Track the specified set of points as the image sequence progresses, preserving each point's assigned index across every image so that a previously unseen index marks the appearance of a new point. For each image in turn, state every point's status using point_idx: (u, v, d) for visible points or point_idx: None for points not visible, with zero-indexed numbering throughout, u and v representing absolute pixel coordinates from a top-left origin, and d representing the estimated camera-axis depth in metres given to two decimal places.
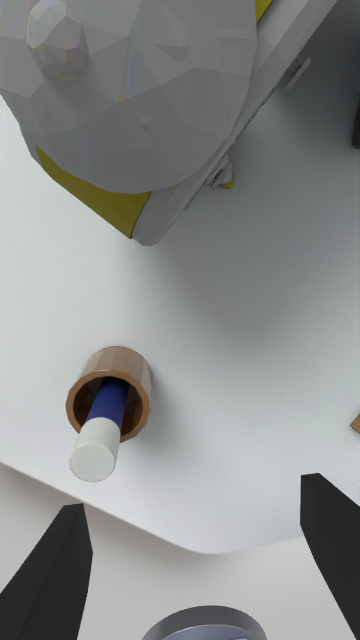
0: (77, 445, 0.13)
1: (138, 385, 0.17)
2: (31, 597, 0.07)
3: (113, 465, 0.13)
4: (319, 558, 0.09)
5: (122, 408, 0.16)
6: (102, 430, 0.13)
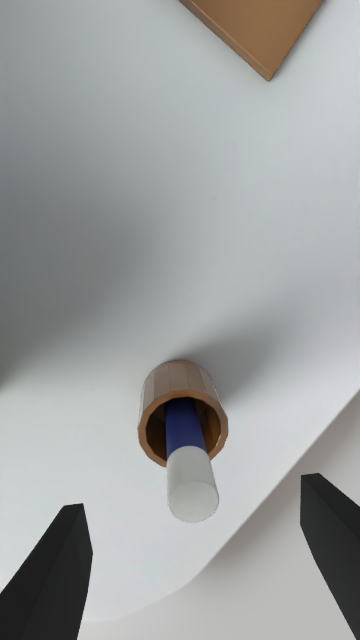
0: (173, 512, 0.12)
1: (158, 401, 0.15)
2: (31, 597, 0.07)
3: (198, 482, 0.11)
4: (319, 558, 0.09)
5: (179, 422, 0.15)
6: (168, 476, 0.12)
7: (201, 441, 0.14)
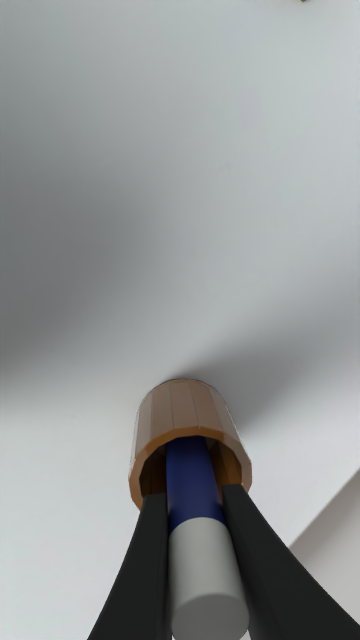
0: (179, 633, 0.07)
1: (156, 441, 0.11)
2: (151, 580, 0.07)
3: (217, 596, 0.07)
4: None
5: (185, 472, 0.11)
6: (170, 572, 0.08)
7: (217, 505, 0.10)
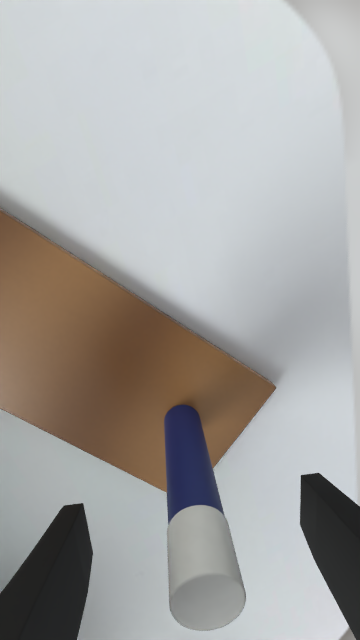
0: (178, 613, 0.08)
1: None
2: (31, 597, 0.07)
3: (215, 576, 0.07)
4: (319, 558, 0.09)
5: (183, 464, 0.11)
6: (170, 556, 0.08)
7: (215, 494, 0.10)
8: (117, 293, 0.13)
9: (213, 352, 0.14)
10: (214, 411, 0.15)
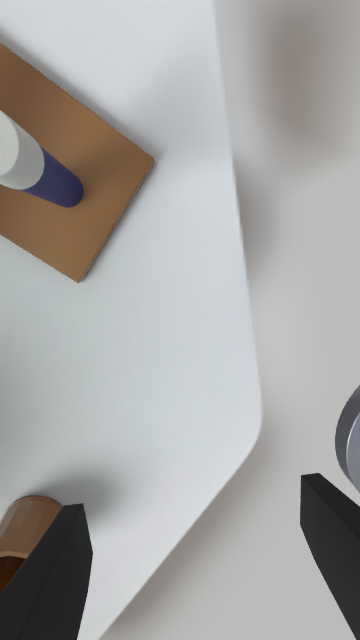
0: None
1: None
2: (31, 597, 0.07)
3: None
4: (319, 558, 0.09)
5: None
6: None
7: None
8: None
9: (89, 115, 0.16)
10: (96, 181, 0.16)
